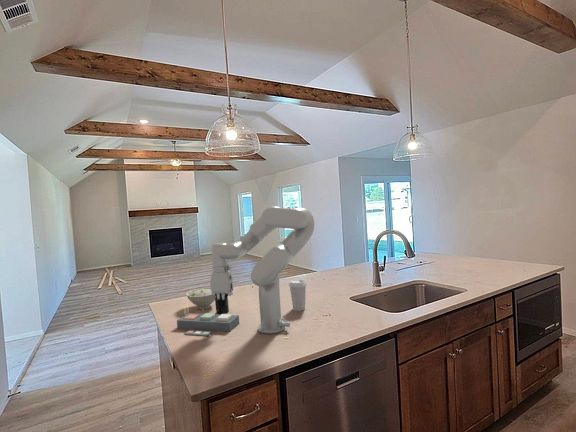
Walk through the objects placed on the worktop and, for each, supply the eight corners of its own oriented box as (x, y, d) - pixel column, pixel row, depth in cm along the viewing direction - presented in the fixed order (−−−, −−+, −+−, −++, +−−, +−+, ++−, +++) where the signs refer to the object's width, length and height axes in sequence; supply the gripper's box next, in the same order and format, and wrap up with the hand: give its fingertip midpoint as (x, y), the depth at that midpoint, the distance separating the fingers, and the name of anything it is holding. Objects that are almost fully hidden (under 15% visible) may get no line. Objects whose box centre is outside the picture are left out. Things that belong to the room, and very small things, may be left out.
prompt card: (212, 332, 146) (212, 331, 146) (207, 336, 143) (207, 334, 143) (189, 331, 150) (189, 329, 150) (184, 334, 146) (184, 333, 146)
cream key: (232, 320, 154) (231, 314, 154) (227, 324, 149) (226, 318, 149) (222, 319, 155) (222, 313, 155) (217, 324, 150) (216, 317, 150)
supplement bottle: (223, 309, 177) (221, 288, 177) (231, 312, 173) (230, 290, 173) (213, 313, 172) (211, 291, 172) (221, 316, 168) (219, 293, 167)
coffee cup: (306, 311, 166) (305, 283, 166) (288, 311, 168) (287, 283, 168) (309, 305, 176) (307, 278, 175) (292, 305, 178) (290, 279, 177)
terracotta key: (199, 320, 159) (199, 314, 159) (193, 324, 154) (193, 318, 154) (190, 320, 161) (190, 314, 160) (184, 324, 156) (184, 318, 155)
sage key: (215, 319, 157) (215, 313, 156) (210, 323, 152) (209, 317, 151) (206, 319, 158) (205, 313, 158) (200, 323, 153) (200, 316, 153)
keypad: (239, 323, 156) (238, 315, 156) (230, 331, 146) (229, 323, 146) (189, 320, 164) (188, 313, 163) (177, 328, 154) (176, 320, 154)
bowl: (179, 310, 181) (178, 293, 180) (203, 300, 198) (202, 284, 197) (205, 314, 172) (204, 296, 171) (228, 303, 189) (226, 286, 188)
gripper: (238, 267, 153) (240, 305, 154) (210, 266, 157) (212, 303, 158) (231, 271, 145) (233, 310, 146) (202, 270, 150) (204, 308, 151)
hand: (222, 307), depth 152 cm, fingers closed
